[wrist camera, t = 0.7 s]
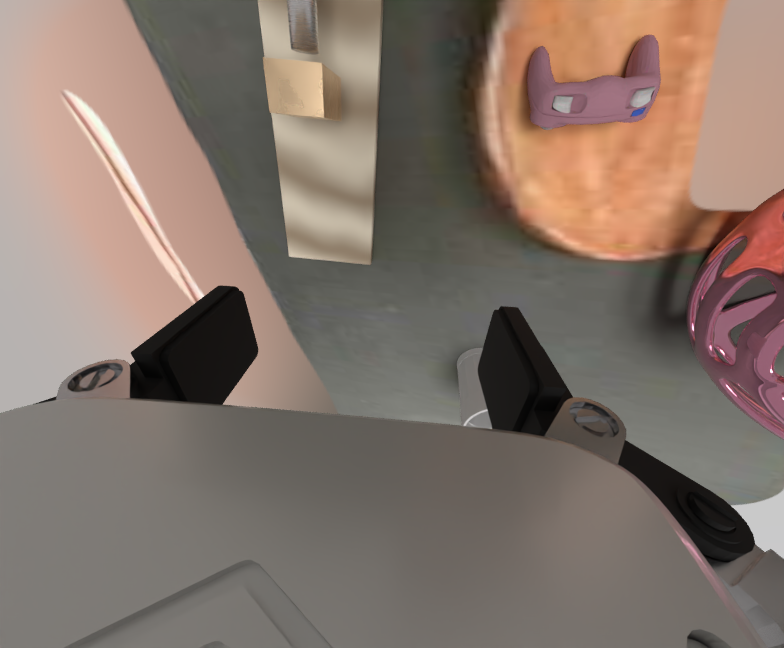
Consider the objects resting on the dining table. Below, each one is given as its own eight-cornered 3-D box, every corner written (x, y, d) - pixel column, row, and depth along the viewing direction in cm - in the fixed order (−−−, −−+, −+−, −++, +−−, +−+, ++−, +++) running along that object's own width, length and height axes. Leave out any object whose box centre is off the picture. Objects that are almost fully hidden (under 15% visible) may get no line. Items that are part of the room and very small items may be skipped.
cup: (496, 384, 46) (519, 453, 36) (447, 380, 46) (456, 447, 36) (510, 345, 42) (541, 411, 32) (456, 340, 42) (469, 404, 32)
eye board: (239, -226, 19) (94, -526, 10) (392, -214, 18) (374, -505, 10) (293, 252, 36) (257, 287, 28) (372, 260, 36) (359, 297, 28)
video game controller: (514, 105, 28) (530, 144, 25) (529, 42, 24) (550, 78, 21) (622, 95, 27) (654, 135, 24) (656, 28, 23) (700, 64, 20)
